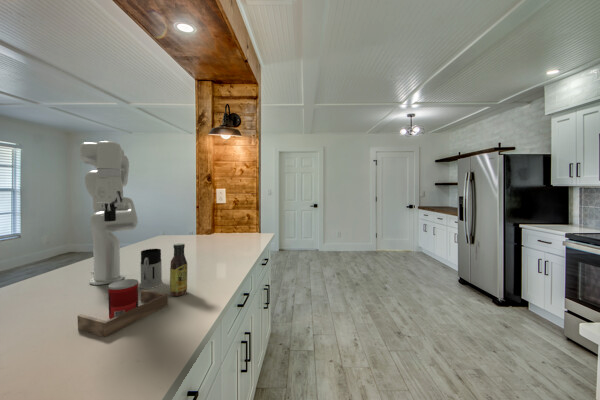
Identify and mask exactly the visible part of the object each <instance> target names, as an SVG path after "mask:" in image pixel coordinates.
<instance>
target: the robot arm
mask: <svg viewBox="0 0 600 400" xmlns="http://www.w3.org/2000/svg"><path fill="white" fill-rule="evenodd" d="M78 154H79V159H80V160H81V162H82V163H83V164H86V165H89V166H94V167H95V168H96V170H90V171H88V172H87V173H85V175H84V185H85V189H86V190H87V191H86V192H87V193H88V194H89V196H91V198H92V207H93V213H92V214H91V216H90V218H89V224H90V229H91V233H92V243H93V244H92V246H93V249H92V251H93V255H92V256H93V271H91V272H90V273H91V275H93V277H91V278H90V279H89V284H90V285H93V286H97V285H98V286H99V285H107V284H109V285H110V284H111V283H113V282H116V281H120V280H124V278H125V274H124V273H121V251H120V250H121V246H120V243H121V241H120V239H119V238H118V237H117V236H116V235H115V234H113V232H114V233H115V232H122V231H123V232H124V231H125V232H126V231H133V230H135V229H136V228H137V226H138V223H139V222H138V216H137V210H136V208H135V203H134V201H133V199H132V198H130V197H128V196H127V197H125V196H124V187H125V186H127V184H128V182H129V181H128V180H129V179H128V178H129V171H130V170H129V169H130V162H129V158H128V157H127V155H125V151H124V149H123V148H122V147H121V145H120V143H117V142H114V141H107V140H104V141H101V140H100V141H98V142H89V141H88V142H87V141H86V142H85V141H84V142H82V143H81V144H80V146H79V152H78Z"/></svg>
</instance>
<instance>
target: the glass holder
mask: <svg viewBox="0 0 600 400" xmlns="http://www.w3.org/2000/svg"><path fill="white" fill-rule="evenodd" d="M162 274H163V273H162V249H160V248H149V249H148V248H147V249H143V250H141V251H140V284H139V288H140V287H141V288H140V289H144V288H147V289H153V288H152V287H154V288H157V287H156V286H158V287H160V286H162V285H163V284H164V283H163V279H162V276H163V275H162ZM161 284H162V285H161ZM159 285H160V286H159Z"/></svg>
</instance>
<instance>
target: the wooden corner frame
mask: <svg viewBox="0 0 600 400" xmlns="http://www.w3.org/2000/svg"><path fill="white" fill-rule="evenodd" d="M168 296H169V295H168V294H167V293H162V292H156V291H152V290H146V289H142V290H140V302H142V304H141V305H138V307H136V308H134V309H132V310H129V311H127V312H125V313H123V314H121V315H118V316H116V317H114V318H112V319H107V320H104V319H101V318H97V317H93V316H91V315H90V316H89V315H85V314H79V315H77V330H80V331H83V332H86V333H89V334H93V335H96V336H99V337H103V338H106V337H109V336H110V335H112V334H115V333H117V332H118V331H120V330H122V329H124V328H126V327H129V326H130V325H133V324H135V323H136V322H138V321H140V320H142V319H144V318H146V317H148V316H150V315H152V314H154V313H156V312H158V311H159V310H160V311H161V310H162V309H163V308H165V307H168V306H169V304H168V302H169V301H168V300H169V297H168Z"/></svg>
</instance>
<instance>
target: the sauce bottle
mask: <svg viewBox="0 0 600 400" xmlns="http://www.w3.org/2000/svg"><path fill="white" fill-rule="evenodd" d="M185 245H186V244H185V243H184V242H183V243H182V242H181V243H174V244H173V257H172V259H171V260H170V268H169V291H170V296H171V297H179V296H183V295H185V294H186V293H187V291H188V261H187V259H186V256H185V248H186V247H185Z"/></svg>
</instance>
